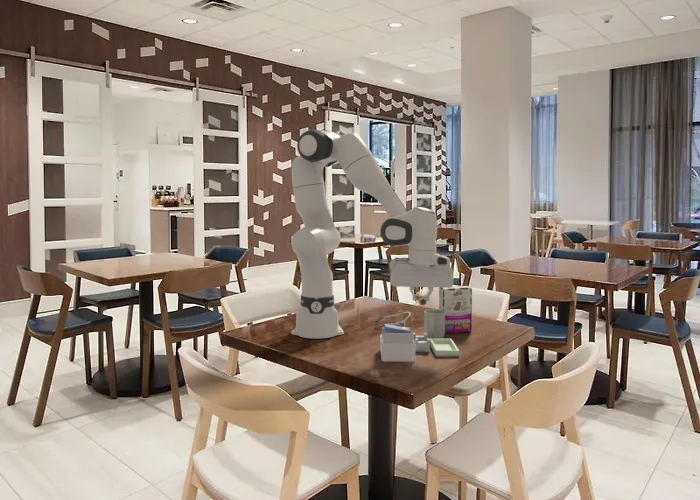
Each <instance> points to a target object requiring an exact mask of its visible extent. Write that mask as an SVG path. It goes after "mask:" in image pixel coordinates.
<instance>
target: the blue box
mask: <svg viewBox="0 0 700 500" xmlns="http://www.w3.org/2000/svg"><path fill="white" fill-rule="evenodd" d="M384 324H385V325H384ZM384 324H383V325H384V331H386V332H391V333H412V331H411V330H410V329H409V328H405V327H404V326H397V325H389V324H390V323H388V324H387V323H384Z"/></svg>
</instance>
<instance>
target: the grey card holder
mask: <svg viewBox="0 0 700 500" xmlns="http://www.w3.org/2000/svg"><path fill="white" fill-rule="evenodd" d="M411 327H412V326H410V327H405V328H409V329H410V330H411V329H412V328H411ZM413 333H414V332H411V333H391V332H386V331H384V327H381V334H380V336H379V351H380V357H381V362H416V351H415V343H414V340H413Z"/></svg>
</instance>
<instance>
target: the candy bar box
mask: <svg viewBox="0 0 700 500" xmlns="http://www.w3.org/2000/svg"><path fill="white" fill-rule="evenodd" d="M438 293H439V294H438V310H442V311H445V334H450V333H451V334H456V333H470V332H472V323H473V322H472V314H473V313H472V311H473V309H472V308H473V304H472V303H473V300H472V299H473V298H472V297H473V296H472V295H473V287H471V286H469V285H455V286H454V285H453V286H452V287H451V288H445V287H438Z"/></svg>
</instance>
